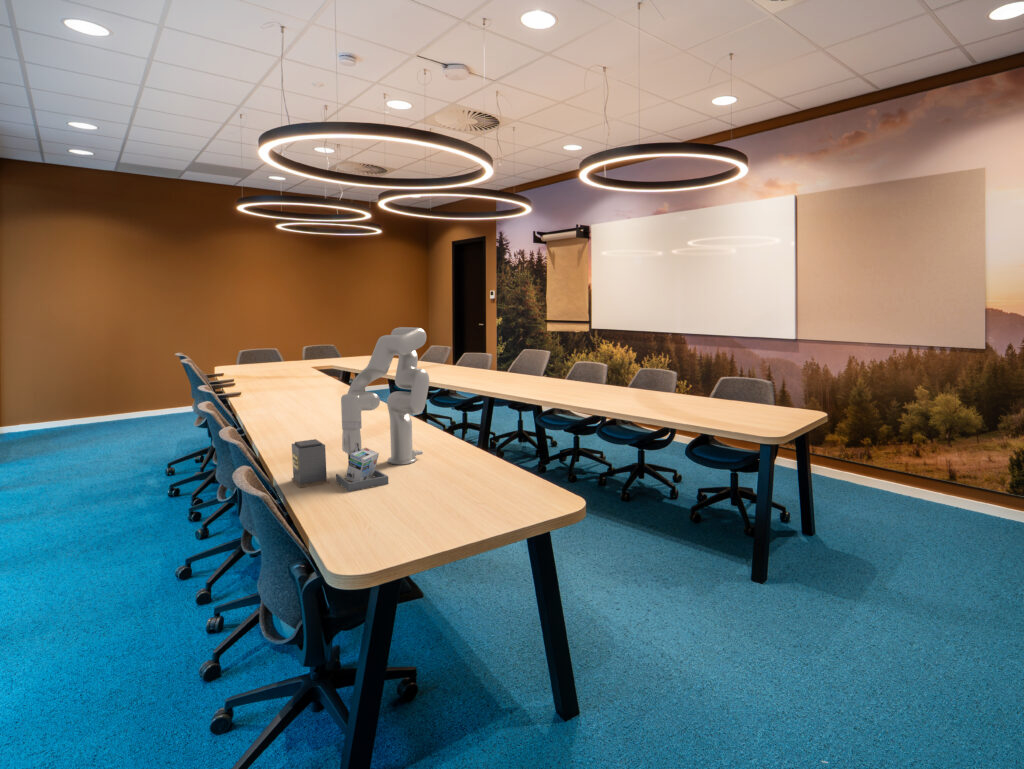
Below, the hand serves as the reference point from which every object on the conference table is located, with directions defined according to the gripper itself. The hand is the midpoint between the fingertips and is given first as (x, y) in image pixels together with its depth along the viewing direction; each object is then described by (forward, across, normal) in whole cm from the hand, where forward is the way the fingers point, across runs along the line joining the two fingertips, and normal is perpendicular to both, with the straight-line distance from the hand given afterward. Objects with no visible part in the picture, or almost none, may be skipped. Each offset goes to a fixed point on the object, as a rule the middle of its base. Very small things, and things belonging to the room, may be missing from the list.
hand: (353, 469), depth 217 cm
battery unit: (+4, -5, -16) cm, 17 cm away
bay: (+3, +8, +1) cm, 8 cm away
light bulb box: (+3, +4, +1) cm, 5 cm away
